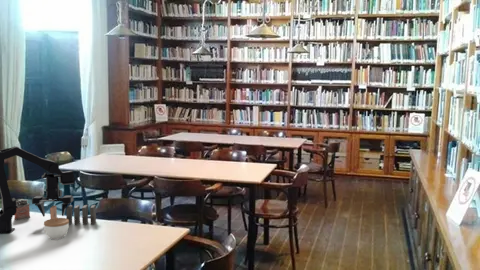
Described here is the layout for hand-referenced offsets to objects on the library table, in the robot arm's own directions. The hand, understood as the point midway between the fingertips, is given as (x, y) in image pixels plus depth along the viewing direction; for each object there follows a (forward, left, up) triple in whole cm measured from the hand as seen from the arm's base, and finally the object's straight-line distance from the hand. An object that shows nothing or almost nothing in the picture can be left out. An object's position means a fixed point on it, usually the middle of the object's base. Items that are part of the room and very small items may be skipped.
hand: (53, 216), depth 228 cm
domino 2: (0, -8, -4) cm, 9 cm away
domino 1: (0, 0, -4) cm, 4 cm away
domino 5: (0, -20, -4) cm, 20 cm away
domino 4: (0, -16, -4) cm, 16 cm away
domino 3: (0, -12, -4) cm, 12 cm away
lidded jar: (-21, -8, -4) cm, 23 cm away
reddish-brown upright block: (+12, +19, -4) cm, 23 cm away
